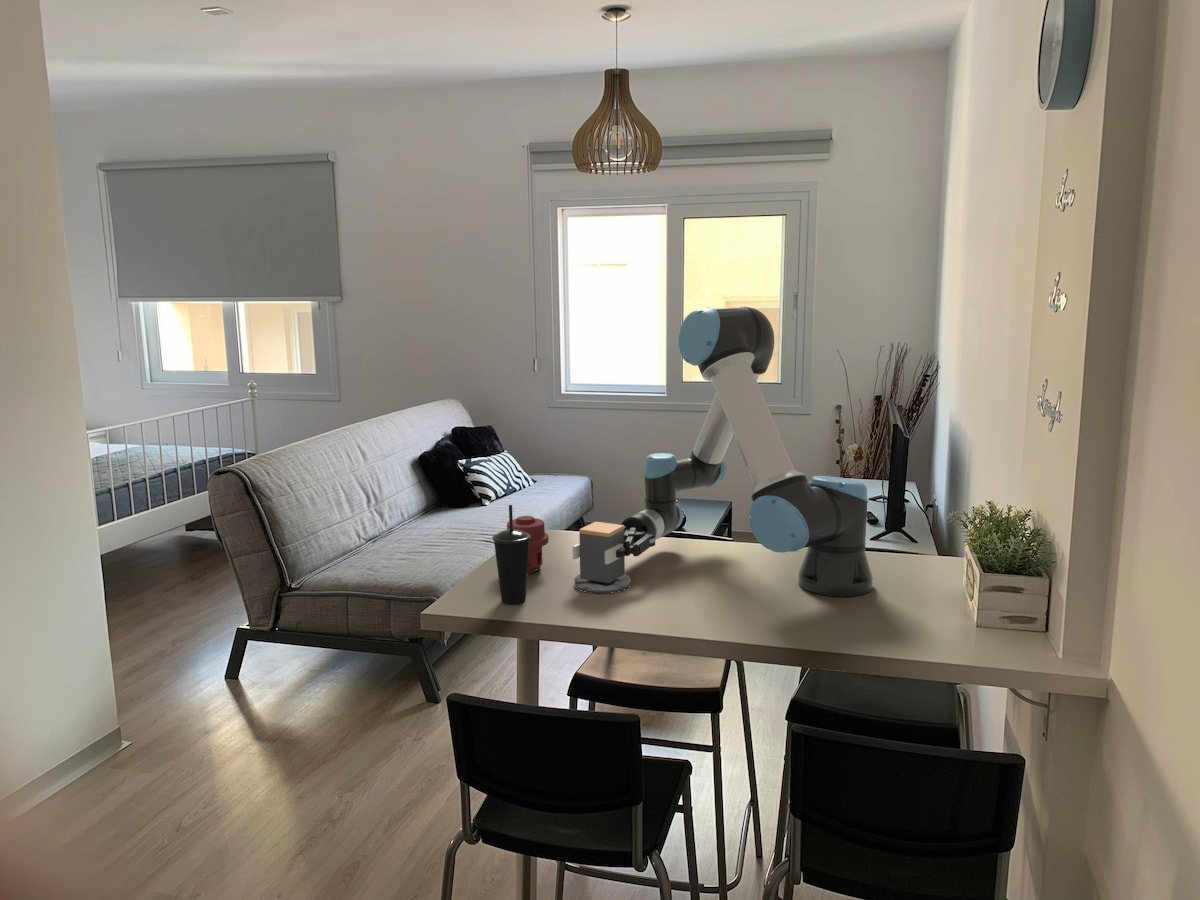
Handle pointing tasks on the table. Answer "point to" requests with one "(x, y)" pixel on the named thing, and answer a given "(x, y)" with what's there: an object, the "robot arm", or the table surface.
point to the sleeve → (600, 552)
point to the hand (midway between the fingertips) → (590, 555)
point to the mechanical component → (532, 539)
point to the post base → (603, 585)
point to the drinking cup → (512, 562)
